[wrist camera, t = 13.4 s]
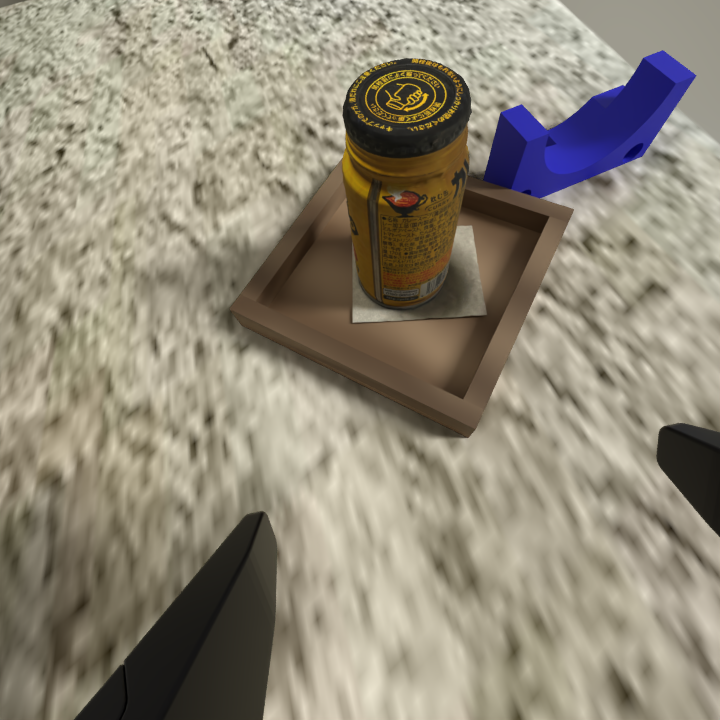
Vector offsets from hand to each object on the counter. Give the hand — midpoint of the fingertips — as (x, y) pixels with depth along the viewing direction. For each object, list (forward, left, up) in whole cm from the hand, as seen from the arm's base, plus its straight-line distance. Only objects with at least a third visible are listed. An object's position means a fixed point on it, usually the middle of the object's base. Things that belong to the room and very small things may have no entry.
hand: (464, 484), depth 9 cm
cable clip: (+27, +2, -14) cm, 31 cm away
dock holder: (+13, +8, -14) cm, 20 cm away
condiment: (+13, +7, -13) cm, 20 cm away
